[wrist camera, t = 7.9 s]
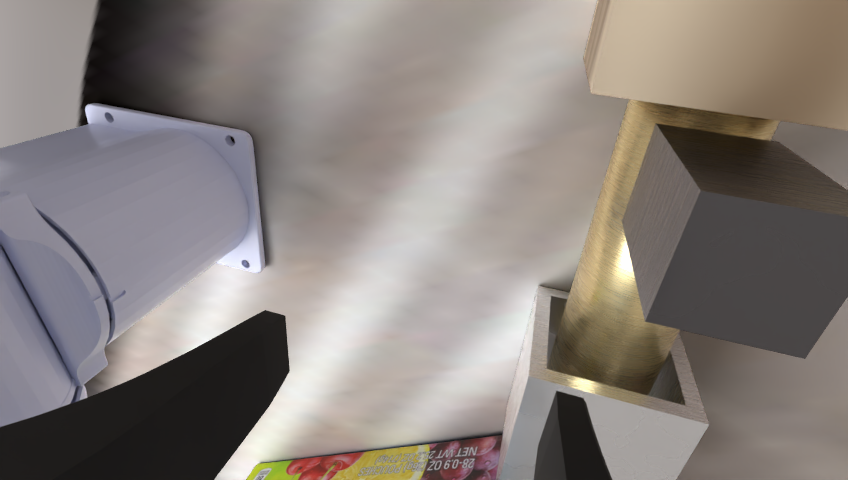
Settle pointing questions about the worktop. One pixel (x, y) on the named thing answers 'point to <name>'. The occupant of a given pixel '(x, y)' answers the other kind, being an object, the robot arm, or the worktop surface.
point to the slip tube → (702, 247)
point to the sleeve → (601, 408)
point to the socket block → (725, 56)
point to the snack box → (395, 463)
